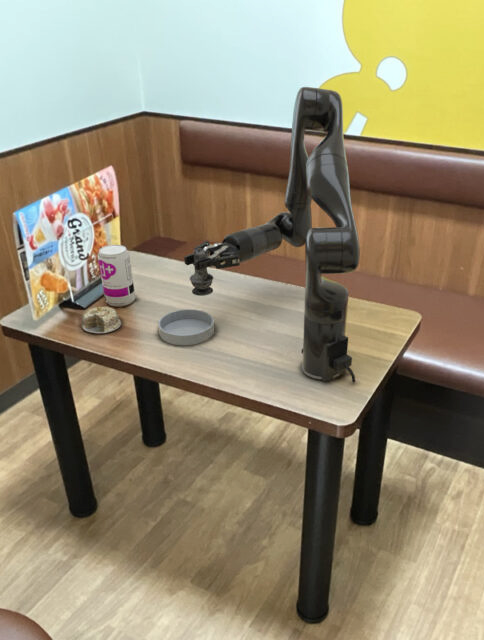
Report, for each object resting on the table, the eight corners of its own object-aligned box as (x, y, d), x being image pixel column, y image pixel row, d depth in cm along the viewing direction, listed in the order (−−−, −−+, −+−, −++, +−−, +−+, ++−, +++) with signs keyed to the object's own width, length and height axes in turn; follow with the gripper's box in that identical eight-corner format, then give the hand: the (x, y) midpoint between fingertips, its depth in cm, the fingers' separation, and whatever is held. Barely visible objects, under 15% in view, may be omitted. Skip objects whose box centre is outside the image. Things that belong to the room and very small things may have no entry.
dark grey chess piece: (188, 287, 153) (184, 242, 146) (211, 284, 155) (208, 239, 148) (193, 297, 149) (189, 251, 142) (216, 294, 150) (213, 248, 143)
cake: (91, 316, 161) (88, 297, 159) (127, 320, 160) (125, 301, 158) (75, 332, 153) (72, 312, 150) (112, 336, 152) (110, 316, 149)
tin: (224, 334, 153) (224, 324, 151) (176, 351, 146) (175, 341, 144) (196, 313, 162) (195, 304, 160) (149, 328, 155) (148, 319, 153)
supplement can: (119, 310, 163) (111, 258, 155) (99, 302, 167) (90, 250, 159) (141, 299, 169) (135, 248, 160) (122, 291, 173) (114, 241, 164)
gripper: (227, 223, 157) (172, 240, 148) (263, 238, 148) (207, 257, 139) (228, 251, 161) (175, 269, 152) (264, 267, 152) (209, 287, 143)
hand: (190, 263), depth 145 cm, fingers closed on dark grey chess piece, 3 cm apart
